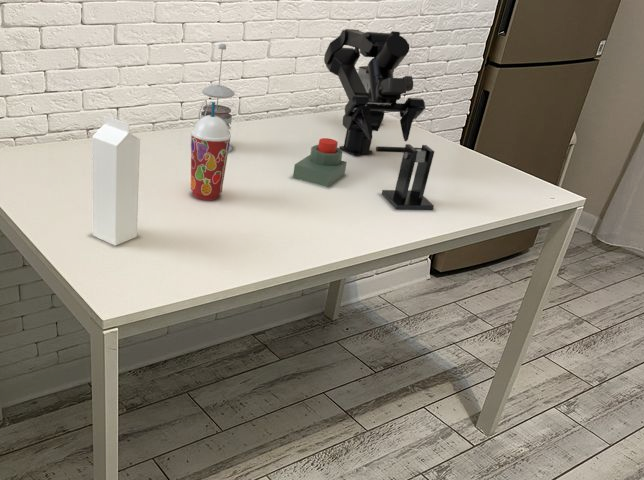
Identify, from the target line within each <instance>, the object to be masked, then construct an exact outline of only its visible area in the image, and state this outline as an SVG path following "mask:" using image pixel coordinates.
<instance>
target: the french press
mask: <svg viewBox="0 0 644 480" xmlns="http://www.w3.org/2000/svg"><path fill="white" fill-rule="evenodd" d="M218 49H219V50H221V53H220V63H219V64H220V66H219V77H218V84H213V85H212V84H211V85H208V86H206V87H204V88H203V89H202V90H201V92H202V94H203V96H206V97H210V98H214V99H217V100H216V104H215V112H214V115H215V116H217V117H219V118H221V119H222V120H223V121H224V122H225V123H226V125H227V126H228V129H229V132H230V133H231V126H230V125H232V118H233V115H232V114H230V113H231V112H232V109H231V108H230V107H228V106H225V105H220V104H219V99H229V98H233V97H234V96H235V94H236V93H235V92H234V91H233V90H232V89H231V88H229V87H227V86H226V85H221V75H222V74H221V73H222V61H223V51H224V50H227V45H226V44H225V43H219V45H218ZM212 102H213V101H210V102H209V103H208V100H207V99H205V100H204V101H203V102H202V104H201V105H200V109H199V112H198V120H200V119H201V118H202V117H204V116H208V115H211V110H212ZM204 104H205V105H204ZM202 110H203V111H202ZM231 151H233V146H232V145H231V144H230V143H229V150H228V153H231Z"/></svg>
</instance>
